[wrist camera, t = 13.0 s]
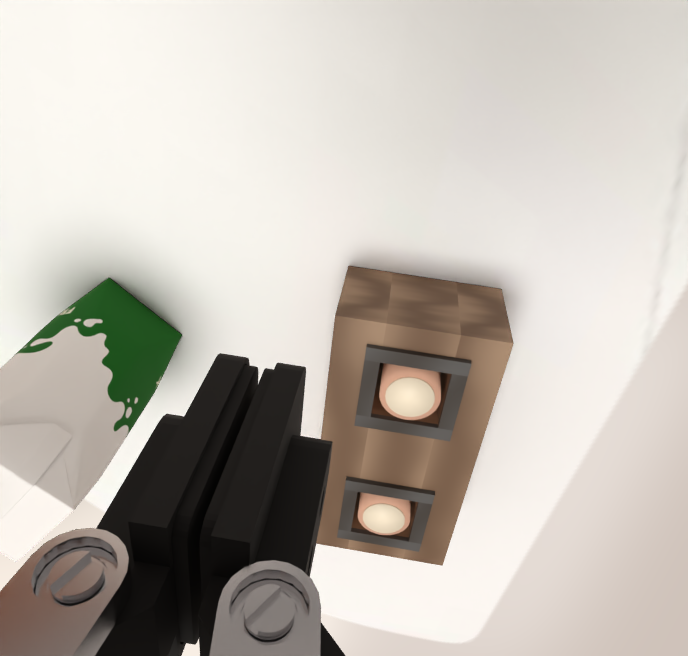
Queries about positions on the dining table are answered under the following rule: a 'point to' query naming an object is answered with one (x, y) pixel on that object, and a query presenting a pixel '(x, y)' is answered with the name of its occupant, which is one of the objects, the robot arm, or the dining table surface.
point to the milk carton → (73, 407)
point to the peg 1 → (409, 391)
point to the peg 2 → (383, 514)
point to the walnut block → (399, 434)
